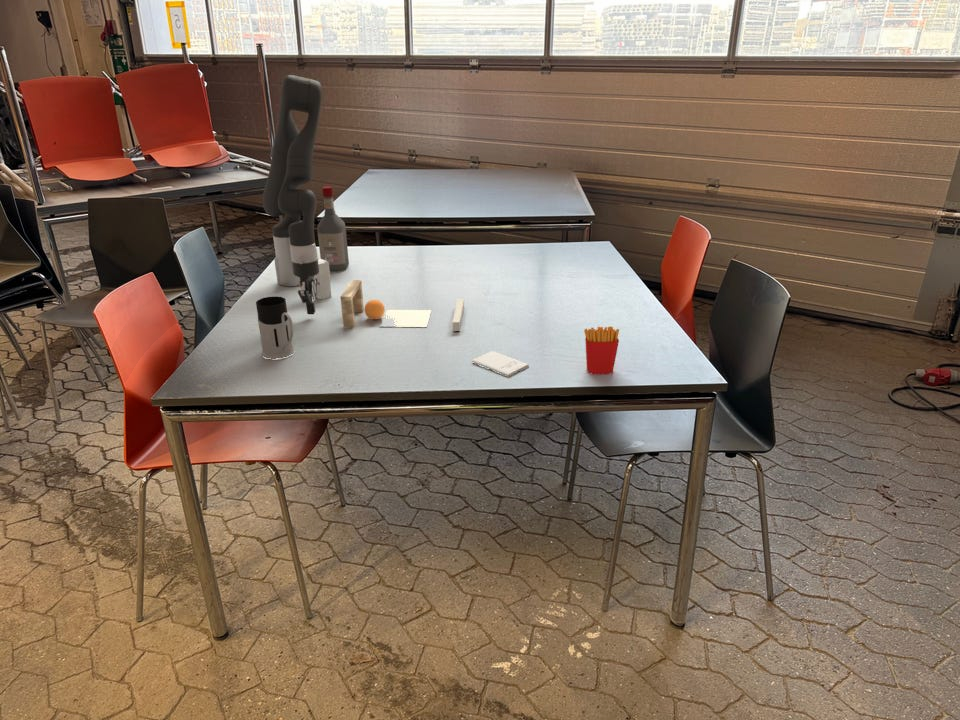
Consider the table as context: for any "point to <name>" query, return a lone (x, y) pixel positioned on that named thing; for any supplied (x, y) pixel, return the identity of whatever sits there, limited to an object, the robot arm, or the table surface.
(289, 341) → the glass holder
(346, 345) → the table surface
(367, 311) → the ball
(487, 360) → the external hard drive
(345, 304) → the bridge
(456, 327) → the wall
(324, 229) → the liquor
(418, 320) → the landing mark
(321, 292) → the skincare box
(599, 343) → the french fries
